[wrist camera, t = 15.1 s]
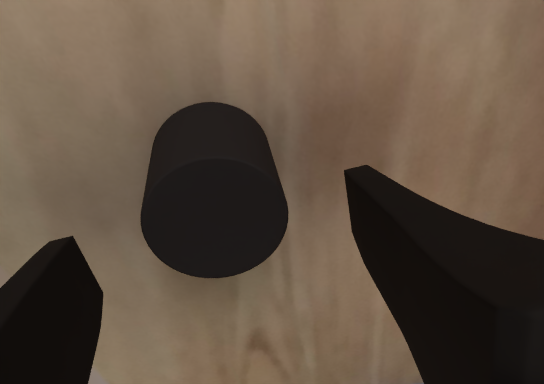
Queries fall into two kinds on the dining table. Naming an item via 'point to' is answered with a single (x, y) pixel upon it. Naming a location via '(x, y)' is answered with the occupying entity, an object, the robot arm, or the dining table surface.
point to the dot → (212, 193)
